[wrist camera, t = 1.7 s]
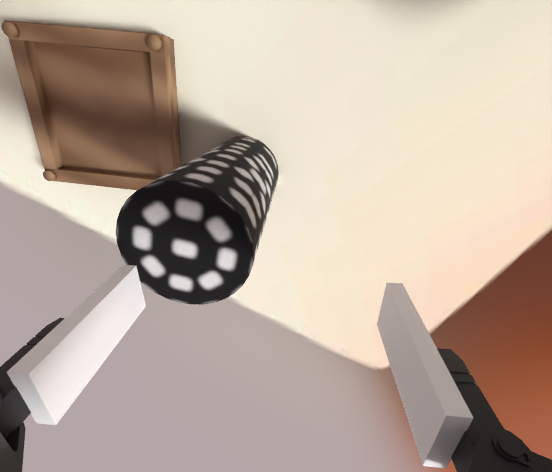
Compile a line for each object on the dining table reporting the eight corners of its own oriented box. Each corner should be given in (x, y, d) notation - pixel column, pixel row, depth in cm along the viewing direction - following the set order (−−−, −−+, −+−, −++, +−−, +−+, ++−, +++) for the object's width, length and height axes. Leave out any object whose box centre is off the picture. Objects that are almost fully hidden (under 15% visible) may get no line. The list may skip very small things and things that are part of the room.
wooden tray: (25, 26, 30) (-2, 19, 27) (173, 39, 29) (160, 33, 27) (62, 175, 37) (43, 181, 34) (182, 188, 36) (173, 195, 34)
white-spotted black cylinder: (207, 194, 36) (116, 287, 19) (216, 128, 33) (114, 162, 15) (269, 210, 37) (239, 317, 19) (285, 146, 33) (267, 202, 15)
